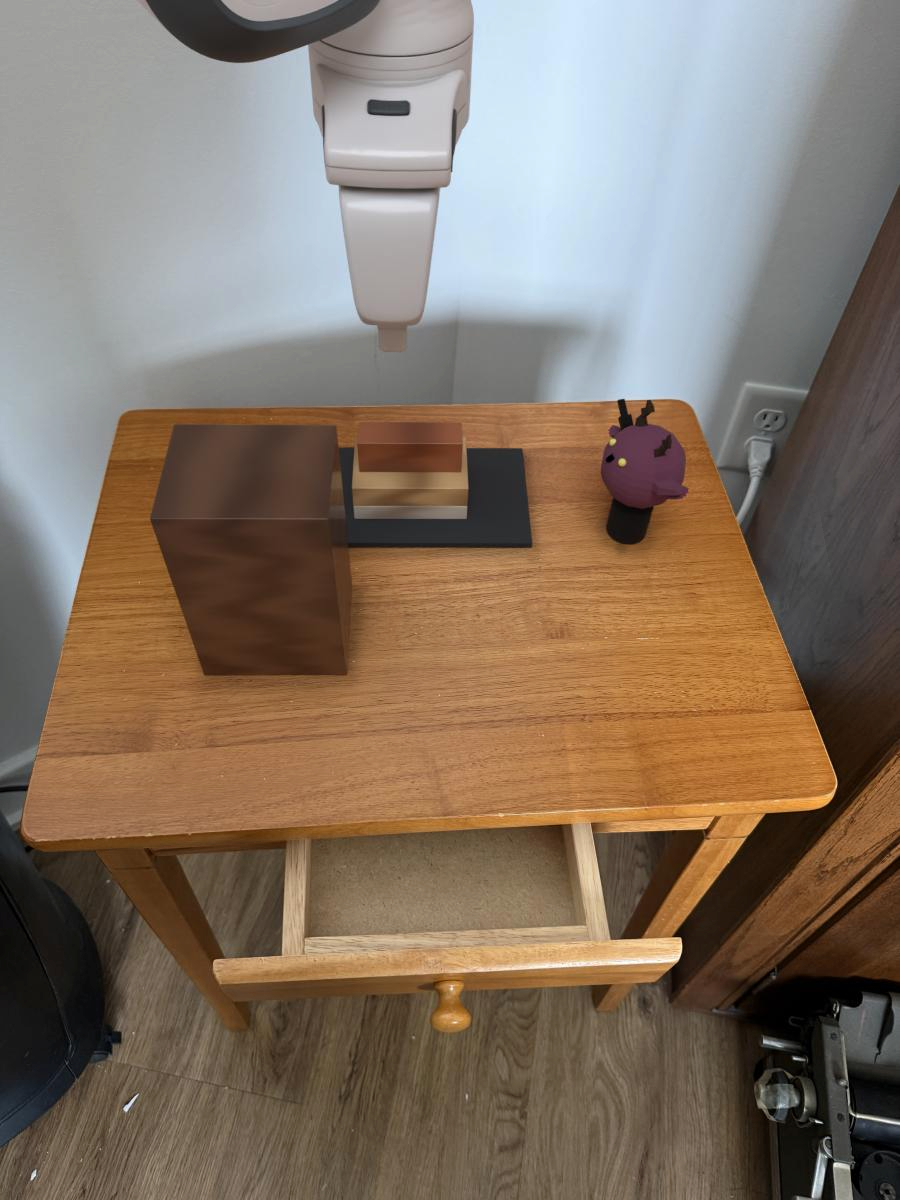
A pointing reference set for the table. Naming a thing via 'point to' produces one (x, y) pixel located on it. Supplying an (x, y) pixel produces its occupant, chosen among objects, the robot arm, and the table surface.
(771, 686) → the table surface
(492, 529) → the mat
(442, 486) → the stepped wooden block
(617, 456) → the figurine
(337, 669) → the riser
